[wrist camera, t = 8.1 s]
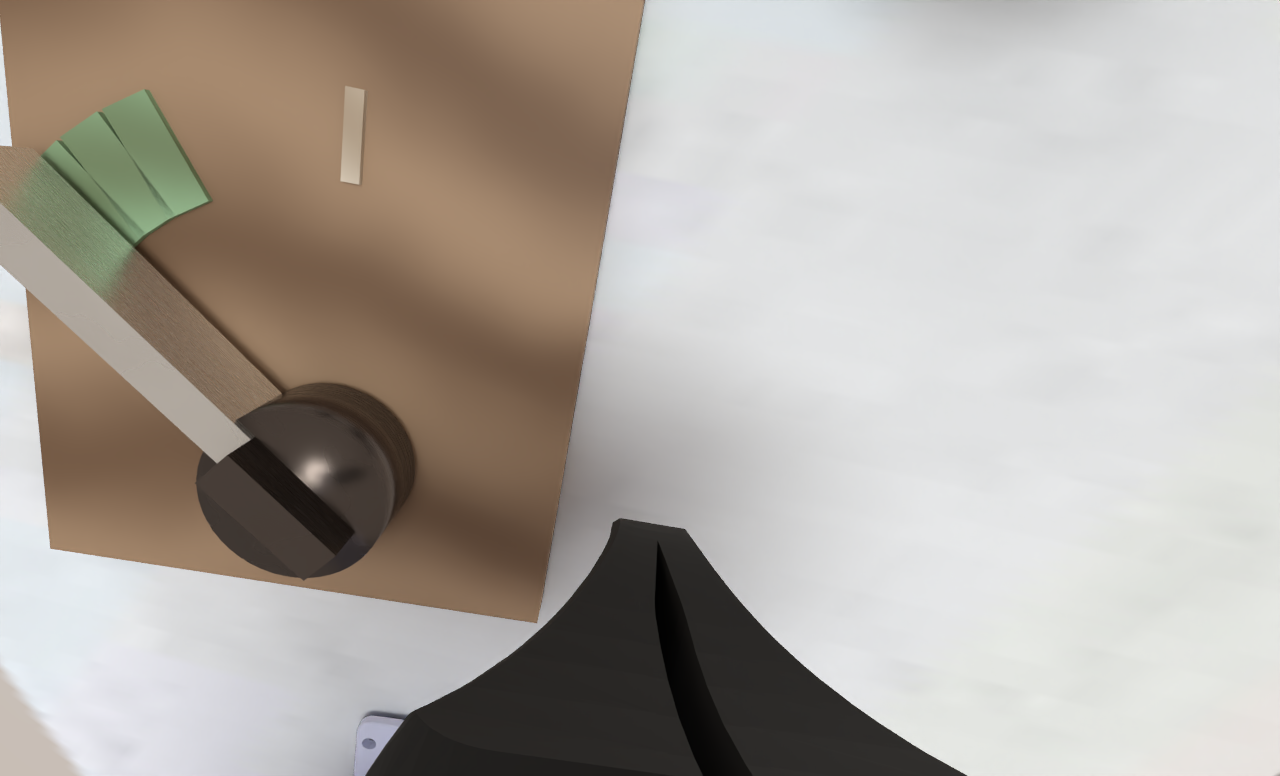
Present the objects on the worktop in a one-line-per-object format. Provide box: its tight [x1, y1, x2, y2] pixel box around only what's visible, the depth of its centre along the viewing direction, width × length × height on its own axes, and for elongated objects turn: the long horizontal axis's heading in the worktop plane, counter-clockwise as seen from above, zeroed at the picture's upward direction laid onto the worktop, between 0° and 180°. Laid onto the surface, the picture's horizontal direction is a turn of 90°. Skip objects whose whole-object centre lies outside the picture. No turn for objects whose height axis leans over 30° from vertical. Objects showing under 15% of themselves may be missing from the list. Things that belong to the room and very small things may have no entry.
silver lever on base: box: [0, 146, 415, 581], centre depth 17 cm, size 14×5×4 cm, turn 38°
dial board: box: [0, 0, 645, 623], centre depth 19 cm, size 20×16×1 cm
